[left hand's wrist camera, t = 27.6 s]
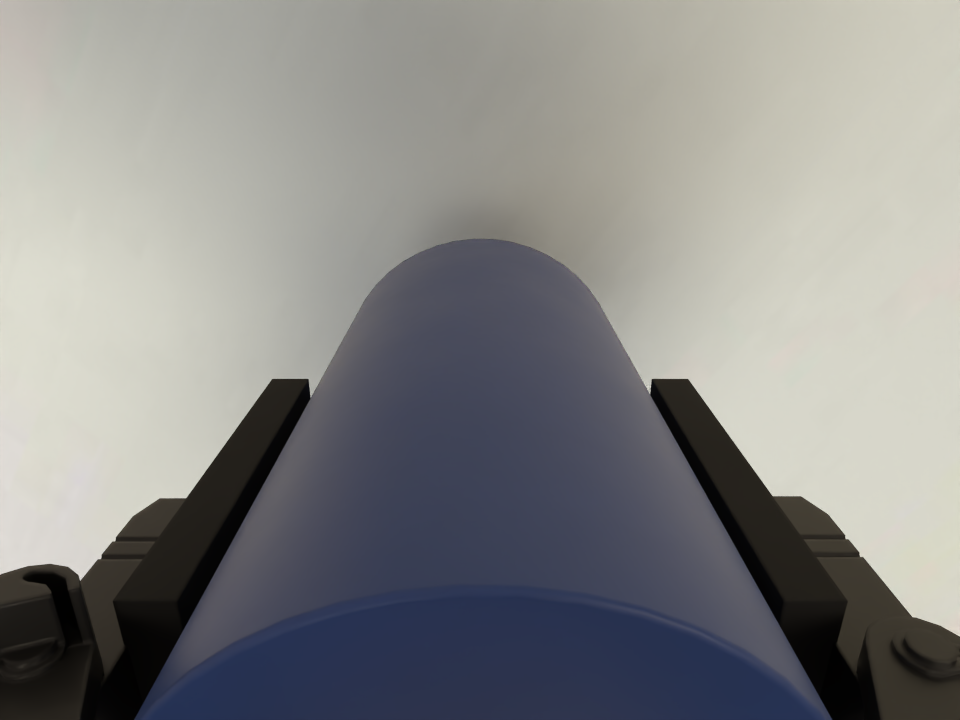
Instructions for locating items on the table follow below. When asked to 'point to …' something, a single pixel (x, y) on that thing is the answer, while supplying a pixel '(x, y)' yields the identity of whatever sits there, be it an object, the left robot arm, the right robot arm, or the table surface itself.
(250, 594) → the can
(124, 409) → the table surface
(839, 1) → the table surface
